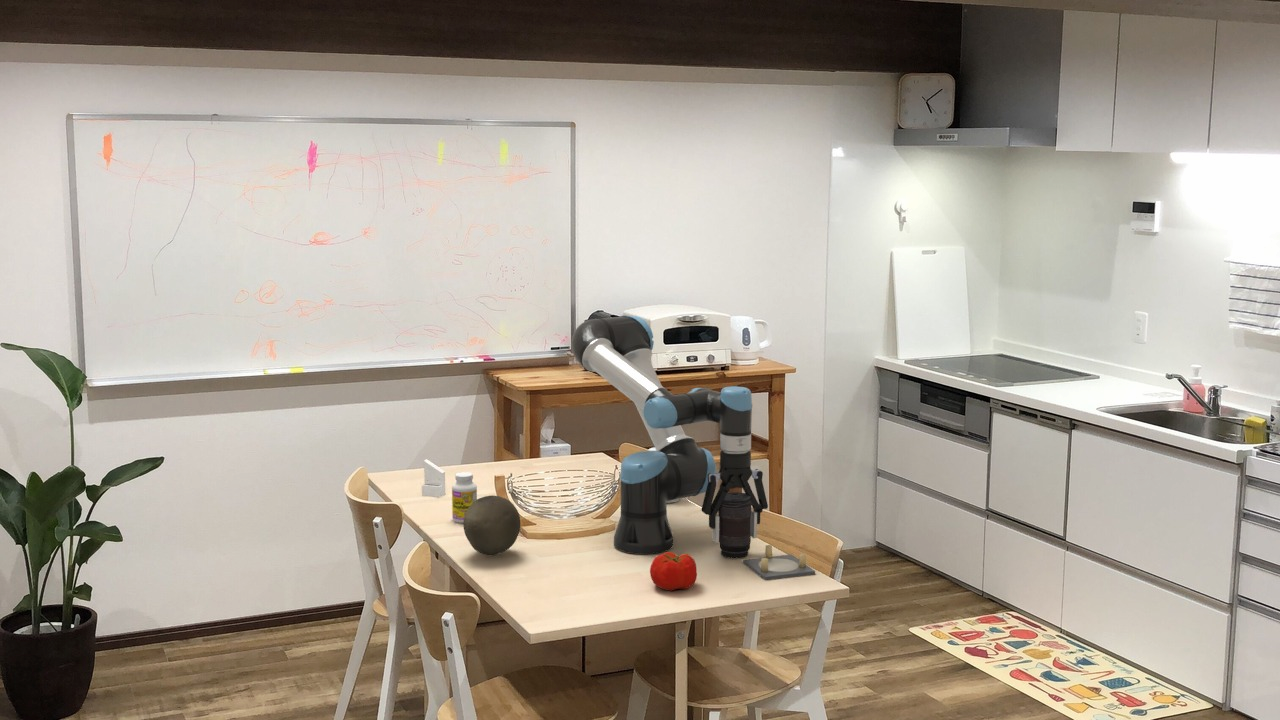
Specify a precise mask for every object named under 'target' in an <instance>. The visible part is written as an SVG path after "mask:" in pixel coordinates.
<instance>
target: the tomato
mask: <svg viewBox="0 0 1280 720" xmlns="http://www.w3.org/2000/svg"><path fill="white" fill-rule="evenodd" d="M649 574H650V578H651V581H652V582H653V584H654V585H655V586H657V587H659V588H661V589H663V590H666V591H675V590H678V589H679V590H685V589H686V590H687V589H688V588H690V587H692V586H693V585H694V584H695V583H696V580H697V576H698V572H697V563H696V562H695V559H694V558H693V557H692V556H691V555H689V554H688V553H683V554H681V555H677V554H676V553H675V552H672V551H664V552H661V554H659V555H657V556H656V557H654V559H653V561H652V563H651V565H650V567H649Z"/></svg>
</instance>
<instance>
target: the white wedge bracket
mask: <svg viewBox="0 0 1280 720" xmlns="http://www.w3.org/2000/svg"><path fill="white" fill-rule="evenodd" d="M423 472H424V473H423V474H424V480H423V481H424V483H423V484H421V496H422V497H432V498H433V497H434V498H441V497H443V496H445V495H446V471H445V470H443V469H441V468H440V467H439V466H437V465H436V464H434V463H433V462H432V461H430V460H428V459H427V458H426V459H424V460H423Z"/></svg>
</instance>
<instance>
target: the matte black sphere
mask: <svg viewBox="0 0 1280 720" xmlns="http://www.w3.org/2000/svg"><path fill="white" fill-rule="evenodd" d="M462 524H463V526H462V527H463V531H464V535H465V537H466V540H467V541H468V542H469V544H470V546H471V547H472V549H474V550H475V551H476V552H477V553H480V554H481V555H484V556H489V557H490V556H491V557H492V556H498V555H500V554H503V553H505V552H506V551H508V550H509V549H510V548H512V547H513V545H514V544H515V543H516V541H517V539H518V536H519V534H520V529H521V516H520V512H519V510H518V509H517V507H516V506H515V505H514V504H513V502H511V501H510V500H509V499H507V498H505V497H502V496H499V495H486V496H481V497H479V498H477V500H476V501H474V502H473V503H472V504H471V505H470V507H469V508H468V510H467V511H466V514H465V516H464V522H463V523H462Z"/></svg>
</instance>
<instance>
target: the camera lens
mask: <svg viewBox="0 0 1280 720" xmlns="http://www.w3.org/2000/svg"><path fill="white" fill-rule="evenodd" d="M751 510H752V505H751V499H750V496H748V495H747V494H745V492H739V491H737V492H735V491H733V492H732V491H731V492H730V491H729V492H728V493H727V494H726V496H725V498H724V499H723V502H722V504H721V506H720V508H719V510H718V512H717V514H718V516H719V542H718V543H719V544H718V545H719V550H720V555H721V556H723V557H725V558H728V559H735V560H737V559H745V558H747V557H748V556H749V551H750V549H751V541H752V537H751V533H750V529H751V526H750V518H751Z"/></svg>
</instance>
